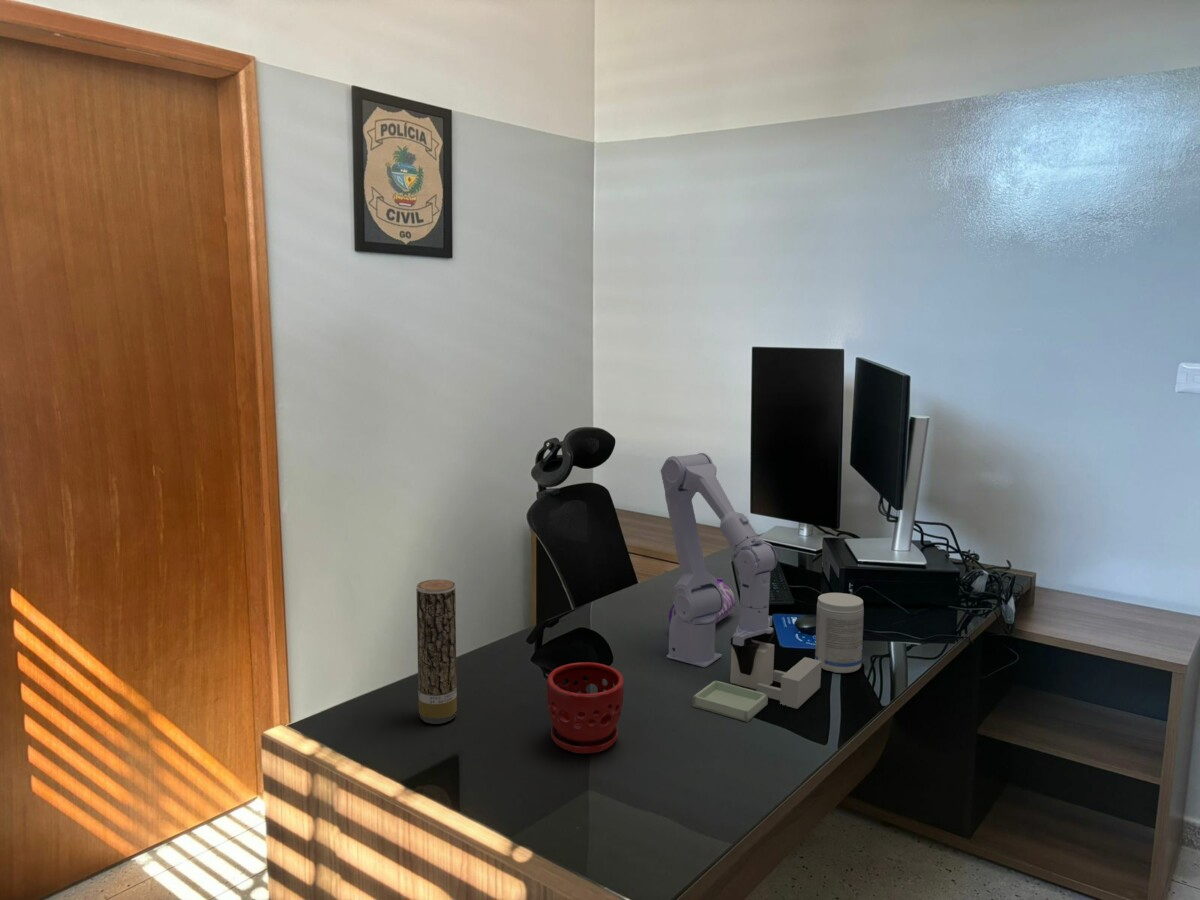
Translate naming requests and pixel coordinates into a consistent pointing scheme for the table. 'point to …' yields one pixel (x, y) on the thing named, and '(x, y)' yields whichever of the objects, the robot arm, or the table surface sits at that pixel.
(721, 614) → the pencil case
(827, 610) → the supplement tub
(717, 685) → the tray
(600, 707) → the plant pot
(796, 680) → the dock
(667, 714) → the table surface
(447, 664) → the paper tube
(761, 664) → the taupe rectangular block
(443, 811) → the table surface
